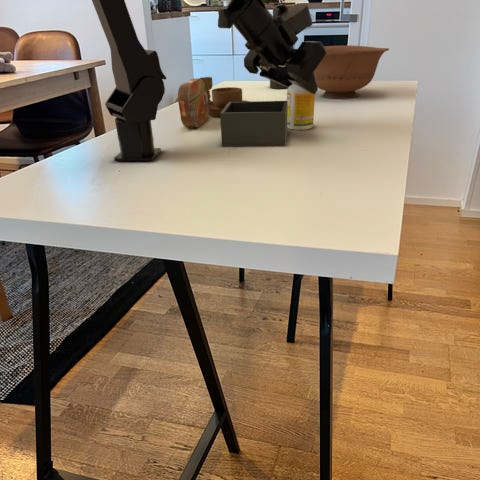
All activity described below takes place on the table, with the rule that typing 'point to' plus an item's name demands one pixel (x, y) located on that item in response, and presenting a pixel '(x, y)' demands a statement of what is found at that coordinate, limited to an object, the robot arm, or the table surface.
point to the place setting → (222, 97)
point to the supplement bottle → (300, 108)
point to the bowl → (346, 69)
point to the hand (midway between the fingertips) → (306, 90)
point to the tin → (194, 102)
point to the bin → (254, 123)
